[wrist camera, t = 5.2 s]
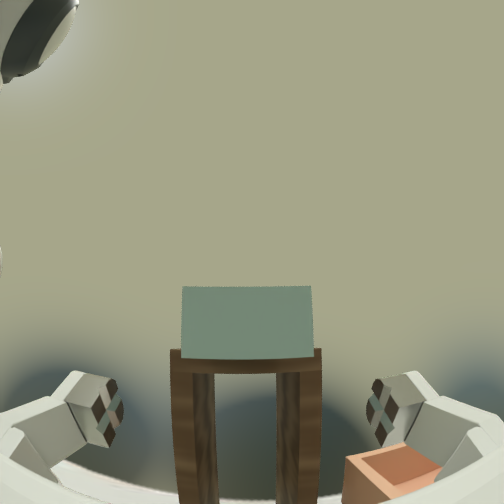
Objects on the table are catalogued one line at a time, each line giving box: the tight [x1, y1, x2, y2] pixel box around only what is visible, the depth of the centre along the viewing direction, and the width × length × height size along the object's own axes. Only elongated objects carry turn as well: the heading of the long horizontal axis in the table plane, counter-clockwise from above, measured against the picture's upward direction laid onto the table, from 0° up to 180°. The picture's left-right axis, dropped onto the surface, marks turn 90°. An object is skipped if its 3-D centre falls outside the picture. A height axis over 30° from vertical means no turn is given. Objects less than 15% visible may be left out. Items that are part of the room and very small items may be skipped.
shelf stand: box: [170, 348, 322, 504], centre depth 20 cm, size 14×10×26 cm
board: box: [181, 286, 314, 359], centre depth 20 cm, size 23×4×2 cm, turn 2°
